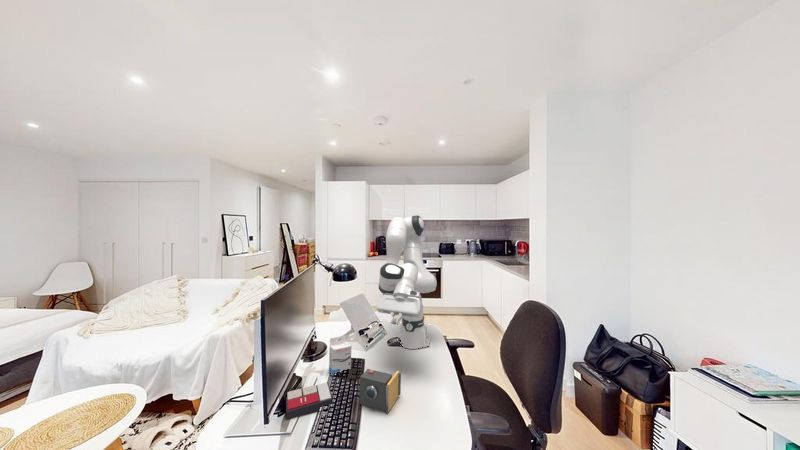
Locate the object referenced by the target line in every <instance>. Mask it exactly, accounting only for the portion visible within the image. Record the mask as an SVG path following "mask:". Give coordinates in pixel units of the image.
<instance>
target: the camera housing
mask: <svg viewBox="0 0 800 450" xmlns="http://www.w3.org/2000/svg"><path fill="white" fill-rule="evenodd" d="M392 377H393V374H392V373H388V372H383V371H381V370H375V369H371V368H367V369H366V370H365V371H364V372H363V373H362V374H361V375H360V377H359V405H360V404H361V407H364V408H369V409H372V410H374V411H378V412H381V413H385V404H386V385H387V384H388V382H389V381H390V380H391V378H392Z"/></svg>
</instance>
